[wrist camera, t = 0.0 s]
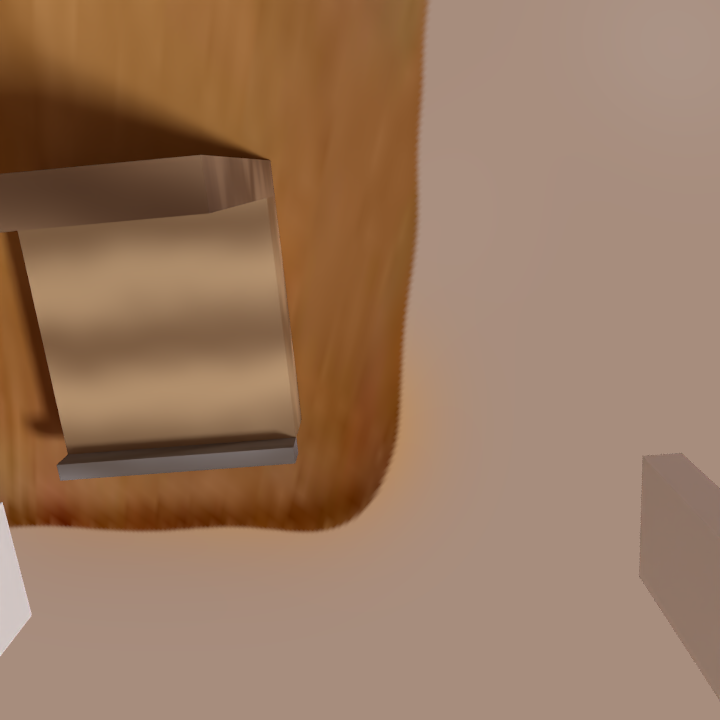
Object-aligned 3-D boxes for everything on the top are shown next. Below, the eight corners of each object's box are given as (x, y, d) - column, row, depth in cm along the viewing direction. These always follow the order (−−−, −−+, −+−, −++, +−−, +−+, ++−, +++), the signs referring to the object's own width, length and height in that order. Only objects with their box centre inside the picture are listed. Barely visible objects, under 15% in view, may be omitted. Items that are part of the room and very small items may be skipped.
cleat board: (34, 182, 39) (-186, 191, 24) (270, 160, 39) (200, 154, 23) (91, 449, 44) (-62, 601, 29) (303, 433, 43) (263, 580, 28)
